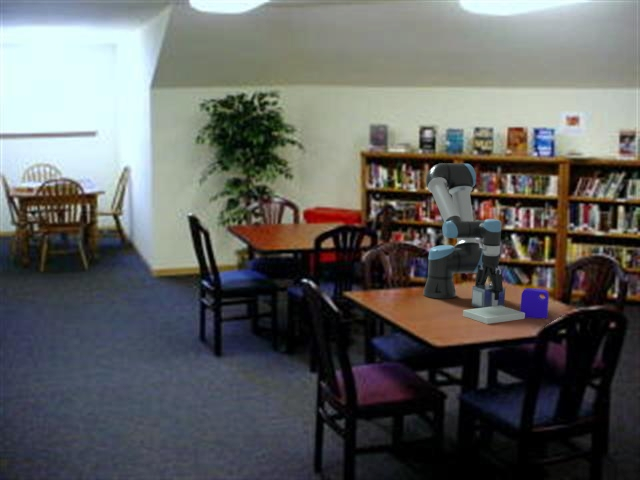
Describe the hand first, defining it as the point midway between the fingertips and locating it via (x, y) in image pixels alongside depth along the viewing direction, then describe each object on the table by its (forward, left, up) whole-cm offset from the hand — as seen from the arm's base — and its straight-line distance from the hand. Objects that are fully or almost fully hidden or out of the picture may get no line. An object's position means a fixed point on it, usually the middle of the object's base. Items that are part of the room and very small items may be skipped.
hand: (487, 304), depth 379 cm
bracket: (+18, +11, -1) cm, 21 cm away
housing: (0, 0, -1) cm, 1 cm away
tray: (+16, -11, -1) cm, 20 cm away
